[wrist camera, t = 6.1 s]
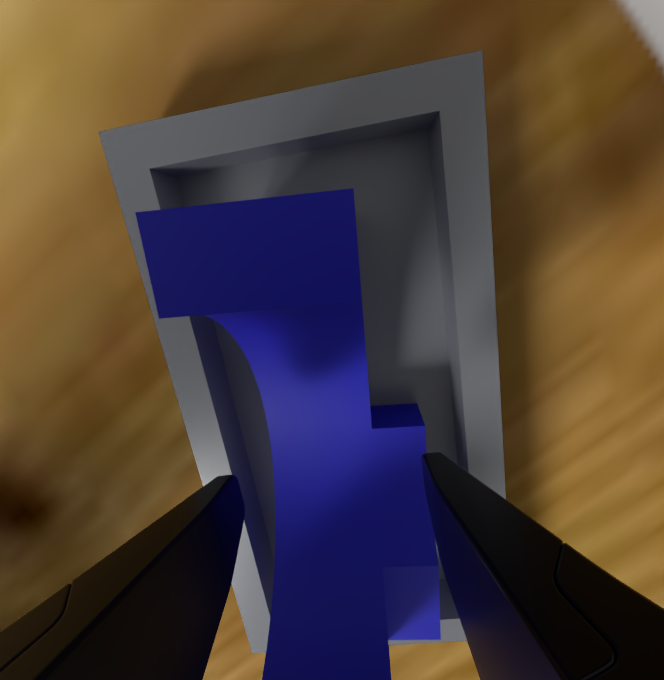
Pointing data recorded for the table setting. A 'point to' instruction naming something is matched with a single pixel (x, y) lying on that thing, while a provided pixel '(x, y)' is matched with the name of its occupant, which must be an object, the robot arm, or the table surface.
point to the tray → (374, 261)
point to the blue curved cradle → (313, 425)
